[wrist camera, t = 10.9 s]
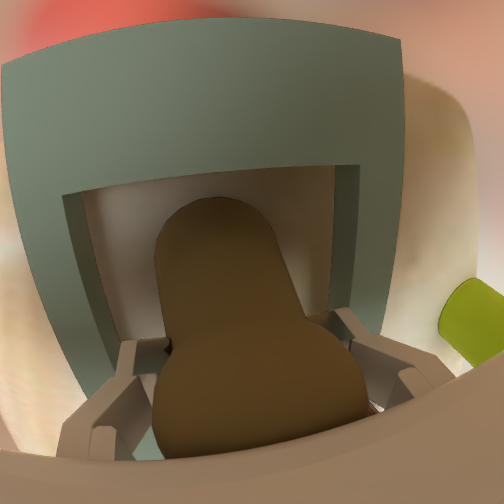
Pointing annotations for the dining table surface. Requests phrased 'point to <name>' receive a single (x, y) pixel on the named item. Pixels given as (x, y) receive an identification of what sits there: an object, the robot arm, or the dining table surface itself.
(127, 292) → the dining table surface
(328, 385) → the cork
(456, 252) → the dining table surface
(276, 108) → the grey-green slotted stand
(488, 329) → the soap dispenser
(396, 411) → the robot arm
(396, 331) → the dining table surface
